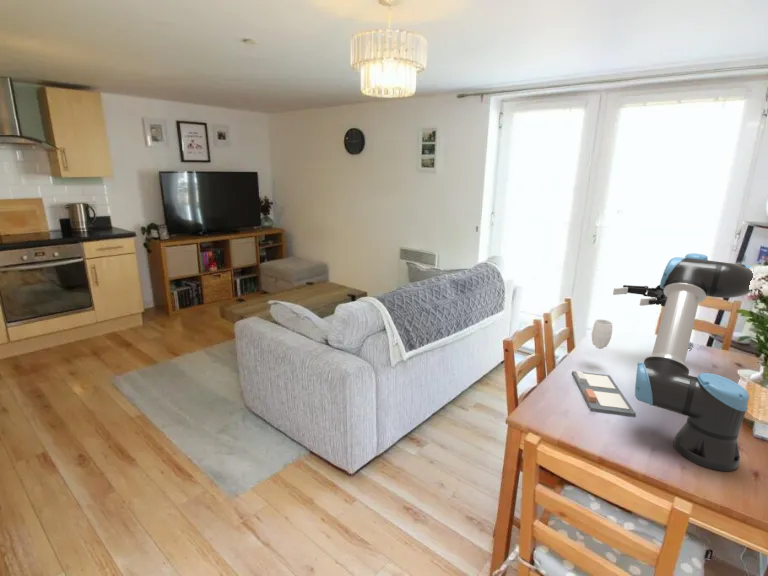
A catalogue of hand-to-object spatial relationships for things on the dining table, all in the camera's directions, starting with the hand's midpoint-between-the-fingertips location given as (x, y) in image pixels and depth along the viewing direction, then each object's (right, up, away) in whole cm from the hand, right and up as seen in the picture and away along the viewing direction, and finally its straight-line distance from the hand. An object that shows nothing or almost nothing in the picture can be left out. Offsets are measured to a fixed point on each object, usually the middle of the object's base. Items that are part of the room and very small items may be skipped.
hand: (626, 296), depth 164 cm
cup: (-9, -30, +7) cm, 33 cm away
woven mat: (+46, -25, +34) cm, 62 cm away
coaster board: (-18, -36, -13) cm, 42 cm away
